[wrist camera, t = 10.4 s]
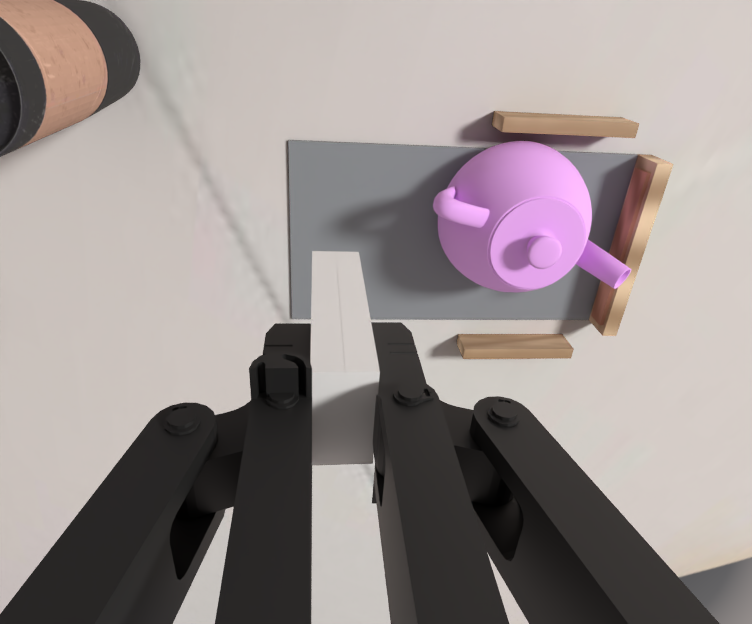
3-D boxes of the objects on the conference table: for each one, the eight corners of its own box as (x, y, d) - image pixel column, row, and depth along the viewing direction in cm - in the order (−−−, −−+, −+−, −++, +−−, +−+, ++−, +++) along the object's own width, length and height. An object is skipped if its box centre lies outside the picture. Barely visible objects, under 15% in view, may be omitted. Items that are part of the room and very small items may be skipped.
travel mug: (108, 125, 44) (-26, 199, 27) (20, 51, 41) (-196, 81, 24) (164, 55, 42) (58, 86, 25) (76, -29, 39) (-117, -60, 22)
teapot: (557, 302, 57) (603, 359, 48) (389, 240, 52) (405, 290, 42) (634, 185, 51) (703, 224, 42) (454, 100, 46) (488, 123, 36)
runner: (288, 139, 46) (288, 140, 46) (651, 154, 50) (653, 155, 50) (292, 318, 55) (291, 319, 55) (600, 318, 59) (601, 319, 59)
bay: (494, 111, 47) (506, 118, 44) (662, 119, 48) (686, 126, 45) (456, 343, 59) (464, 361, 56) (593, 343, 60) (607, 360, 57)
